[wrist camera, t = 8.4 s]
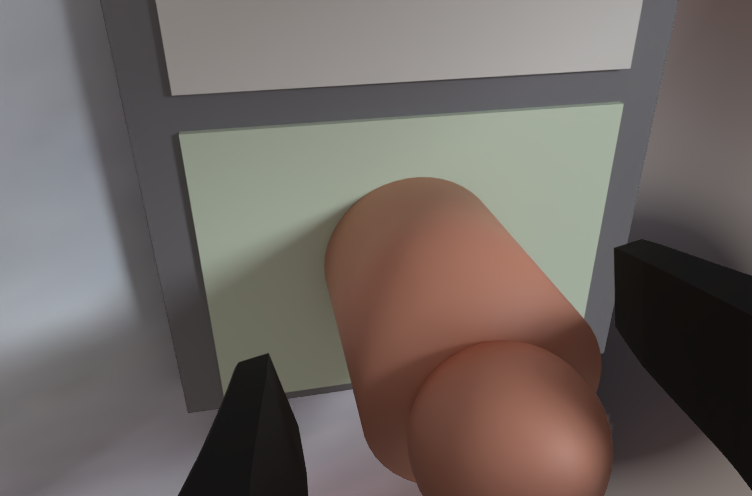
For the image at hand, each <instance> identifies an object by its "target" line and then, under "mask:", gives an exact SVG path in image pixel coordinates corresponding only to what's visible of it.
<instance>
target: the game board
mask: <svg viewBox="0 0 752 496" xmlns="http://www.w3.org/2000/svg"><path fill="white" fill-rule="evenodd" d="M100 1H101V6H102V11H103V15H104V20H105V25H106V30H107V34H108V39H109V44H110V48H111V53H112V58H113V62H114V67H115V72H116V77H117V81H118V86H119V91H120V95H121V100H122V105H123V109H124V114H125V119H126V123H127V128H128V133H129V138H130V142H131V147H132V152H133V156H134V161H135V166H136V170H137V175H138V180H139V185H140V189H141V194H142V199H143V203H144V208H145V213H146V217H147V222H148V227H149V231H150V236H151V241H152V246H153V250H154V255H155V260H156V264H157V269H158V274H159V278H160V283H161V288H162V292H163V297H164V302H165V307H166V311H167V316H168V321H169V325H170V330H171V335H172V339H173V344H174V349H175V354H176V358H177V363H178V368H179V372H180V377H181V382H182V386H183V391H184V396H185V400H186V405H187V410H188V413H192V412H199V411H205V410H212V409H219V408H220V406H221V403H222V401H223V398H224V396H225V393H226V390H227V388H228V385H229V382H230V380H231V377H232V374H233V372H234V369H235V367H236V365H237V364H238V362H241V361H244V360H247V359H250V358H254V357H257V356H260V355H264V354H267V353H269V355H270V357H271V360H272V362H273V365H274V367H275V370H276V372H277V375H278V377H279V380H280V382H281V385H282V387H283V390H284V392H285V394H286V397H287V399H289V398H295V397H302V396H309V395H316V394H323V393H330V392H337V391H344V390H351V389H353V388H352V384H351V380H350V376H349V372H348V367H347V363H346V359H345V355H344V351H343V347H342V343H341V339H340V335H339V331H338V327H337V323H336V319H335V315H334V311H333V307H332V303H331V299H330V295H329V291H328V287H327V282H326V278H325V268H324V265H325V254H326V250H327V245H328V243H329V240H330V237H331V235H332V233H333V231H334V229H335V227H336V225H337V224H338V222H339V221H340V219H341V218H342V217H343V215H344V214H345V213H346V212H347V211H348V210H349V209H350V208H351V207H352V206H353V205H354V204H355V203H356V202H357V201H358V200H360V199H361V198H362V197H364V196H365V195H367V194H368V193H370V192H371V191H373V190H375V189H377V188H379V187H381V186H383V185H386V184H388V183H391V182H394V181H397V180H402V179H406V178H415V177H433V178H439V179H444V180H447V181H451V182H454V183H456V184H458V185H460V186H463V187H464V188H466V189H467V190H469V191H470V192H472V193H473V194H474V195H475V196H477V197H478V198H479V199H480V200H481V201H482V202H483V204H484V205H485V206H486V207H487V208H488V209H489V210H490V212H491V213H492V214H493V215H494V216H495V217H496V218H497V220H498V221H499V222H500V223H501V224H502V225H503V226H504V228H505V229H506V230H507V231H508V232H509V233H510V235H511V236H512V237H513V238H514V239H515V240H516V241H517V243H518V244H519V245H520V246H521V247H522V248H523V249H524V251H525V252H526V253H527V254H528V255H529V256H530V257H531V259H532V260H533V261H534V262H535V263H536V264H537V265H538V267H539V268H540V269H541V270H542V271H543V272H544V273H545V275H546V276H547V277H548V278H549V279H550V280H551V282H552V283H553V284H554V285H555V286H556V287H557V288H558V290H559V291H560V292H561V293H562V294H563V295H564V296H565V298H566V299H567V300H568V301H569V302H570V303H571V304H572V306H573V307H574V308H575V309H576V310H577V311H578V312H579V314H580V315H581V316H582V317H583V318H584V319H585V321H586V322H587V323H588V325H589V326H590V327H591V329H592V331H593V333H594V334H595V336H596V338H597V342H598V345H599V348H600V353H604V349H605V345H606V340H607V335H608V331H609V326H610V321H611V316H612V312H613V307H614V302H615V283H614V248H615V247H618V246H621V245H625V244H627V241H628V236H629V231H630V226H631V222H632V217H633V212H634V207H635V202H636V198H637V193H638V188H639V183H640V179H641V175H642V170H643V165H644V160H645V156H646V151H647V146H648V141H649V137H650V132H651V127H652V122H653V118H654V112H655V108H656V104H657V99H658V94H659V89H660V84H661V80H662V75H663V71H664V65H665V61H666V56H667V52H668V47H669V42H670V37H671V33H672V28H673V23H674V19H675V14H676V9H677V4H678V0H100Z"/></svg>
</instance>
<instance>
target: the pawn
mask: <svg viewBox="0 0 752 496" xmlns="http://www.w3.org/2000/svg"><path fill="white" fill-rule="evenodd" d="M324 268H325V278H326V282H327V287H328V291H329V295H330V299H331V303H332V307H333V311H334V315H335V319H336V323H337V327H338V331H339V335H340V339H341V343H342V347H343V351H344V355H345V359H346V363H347V367H348V372H349V376H350V380H351V384H352V388H353V392H354V396H355V400H356V404H357V408H358V412H359V416H360V420H361V424H362V428H363V432H364V436H365V439H366V441H367V443H368V446H369V448H370V449H371V451H372V452H373V454H374V455H375V457H376V458H377V459H378V460H379V461H380V462H381V463H382V464H383V465H384V466H385V467H386V468H388V469H389V470H390V471H392V472H393V473H395V474H397V475H399V476H401V477H402V478H404V479H407V480H410V481H413V482H415V483H417V485H418V488H419V490H420V492H421V493H422V495H423V496H604V494H605V492H606V489H607V486H608V483H609V479H610V475H611V471H612V461H613V446H612V436H611V430H610V426H609V422H608V419H607V416H606V413H605V411H604V409H603V406H602V404H601V402H600V400H599V398H598V397H597V395H596V391H597V388H598V385H599V380H600V375H601V355H600V348H599V345H598V342H597V338H596V336H595V334H594V333H593V331H592V329H591V327H590V326H589V325H588V323H587V322H586V321H585V319H584V318H583V317H582V316H581V315H580V314H579V312H578V311H577V310H576V309H575V308H574V307H573V306H572V304H571V303H570V302H569V301H568V300H567V299H566V298H565V296H564V295H563V294H562V293H561V292H560V291H559V290H558V288H557V287H556V286H555V285H554V284H553V283H552V282H551V280H550V279H549V278H548V277H547V276H546V275H545V273H544V272H543V271H542V270H541V269H540V268H539V267H538V265H537V264H536V263H535V262H534V261H533V260H532V259H531V257H530V256H529V255H528V254H527V253H526V252H525V251H524V249H523V248H522V247H521V246H520V245H519V244H518V243H517V241H516V240H515V239H514V238H513V237H512V236H511V235H510V233H509V232H508V231H507V230H506V229H505V228H504V226H503V225H502V224H501V223H500V222H499V221H498V220H497V218H496V217H495V216H494V215H493V214H492V213H491V212H490V210H489V209H488V208H487V207H486V206H485V205H484V204H483V202H482V201H481V200H480V199H479V198H478V197H477V196H475V195H474V194H473V193H472V192H470V191H469V190H467V189H466V188H464V187H463V186H460V185H458V184H456V183H454V182H451V181H447V180H444V179H439V178H433V177H415V178H406V179H402V180H397V181H394V182H391V183H388V184H386V185H383V186H381V187H379V188H377V189H375V190H373V191H371V192H370V193H368V194H367V195H365V196H364V197H362V198H361V199H360V200H358V201H357V202H356V203H355V204H354V205H353V206H352V207H351V208H350V209H349V210H348V211H347V212H346V213H345V214H344V215H343V217H342V218H341V219H340V221H339V222H338V224H337V225H336V227H335V229H334V231H333V233H332V235H331V237H330V240H329V243H328V245H327V250H326V254H325V265H324Z"/></svg>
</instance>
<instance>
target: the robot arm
mask: <svg viewBox="0 0 752 496" xmlns="http://www.w3.org/2000/svg"><path fill="white" fill-rule="evenodd" d="M614 283H615V326H616V328H617V330H618V331H619V333H620V334H621V336H622V337H623V339H624V340H625V342H626V343H627V345H628V346H629V348H630V349H631V350H632V352H633V353H634V355H635V356H636V357H637V359H638V360H639V362H640V363H641V364H642V366H643V367H644V368H645V369H646V370H647V371H648V373H649V374H650V375H651V376H652V377H653V378H654V379H655V380H656V381H657V382H658V384H659V385H660V386H661V387H662V388H663V389H664V390H665V391H666V393H668V395H669V396H670V397H671V398H672V399H673V400H674V401H675V402H676V403H677V404H678V406H679V407H680V408H681V409H682V410H683V411H684V412H685V413H686V414H687V415H688V416H689V417H690V419H691V420H692V421H693V422H694V423H695V424H696V425H697V426H698V427H699V428H700V429H701V430H702V432H703V433H704V434H705V435H706V436H707V437H708V438H709V439H710V440H711V441H712V442H713V443H714V444H715V446H716V447H717V448H718V449H719V450H720V451H721V452H722V454H723V455H724V456H725V457H726V458H727V459H728V460H729V462H730V463H731V464H732V465H733V466H734V468H735V469H736V470H737V471H738V473H739V474H740V475H741V477H742V478H743V479H744V481H745V482H746V483H747V485H748V486H749V487H750V489H751V490H752V276H751V275H748V274H744V273H742V272H739V271H736V270H733V269H730V268H727V267H724V266H721V265H718V264H715V263H712V262H709V261H707V260H704V259H701V258H698V257H695V256H692V255H689V254H687V253H684V252H680V251H678V250H675V249H672V248H669V247H666V246H663V245H660V244H657V243H653V242H650V241H647V240H643V239H641V240H638V241H634V242H631V243H628V244H625V245H621V246H618V247H615V248H614ZM178 496H308V486H307V472H306V467H305V461H304V455H303V449H302V444H301V438H300V433H299V427H298V424H297V422H296V419H295V417H294V414H293V412H292V409H291V407H290V404H289V402H288V399H287V397H286V394H285V392H284V390H283V387H282V385H281V382H280V380H279V377H278V375H277V372H276V370H275V367H274V365H273V362H272V360H271V357H270V355H269V353H267V354H264V355H260V356H257V357H254V358H250V359H247V360H244V361H241V362H238V364H237V365H236V367H235V369H234V372H233V374H232V377H231V380H230V382H229V385H228V388H227V390H226V393H225V396H224V398H223V401H222V403H221V406H220V408H219V410H218V413H217V415H216V418H215V420H214V422H213V425H212V427H211V429H210V431H209V434H208V436H207V438H206V440H205V443H204V445H203V447H202V449H201V451H200V453H199V456H198V458H197V460H196V461H195V463H194V465H193V467H192V469H191V471H190V473H189V475H188V477H187V479H186V481H185V483H184V485H183V487H182V489H181V491H180V493H179V494H178Z"/></svg>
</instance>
